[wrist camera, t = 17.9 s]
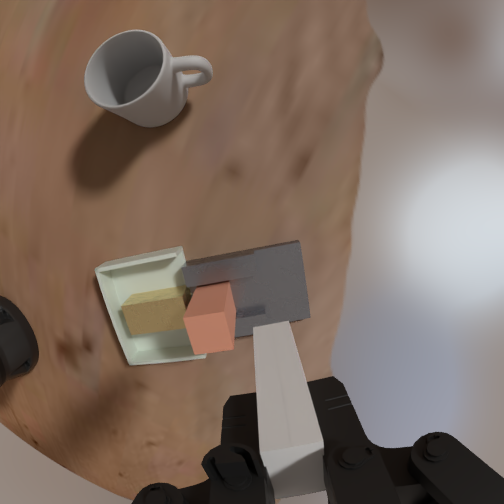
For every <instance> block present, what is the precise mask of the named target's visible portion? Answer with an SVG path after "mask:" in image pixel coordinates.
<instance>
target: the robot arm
mask: <svg viewBox="0 0 504 504" xmlns="http://www.w3.org/2000/svg"><path fill="white" fill-rule="evenodd" d="M253 338H254V357H255V375H256V392H255V393H248V394H241V395H234V396H230V397H229V399H228V400H227V402H226V403H225V405H224V407H223V420H222V432H221V445H219V446H217V447H215V448H213V449H211V450H210V451H209V452H208V453H207V454H206V455H205V456H204V458H203V461H202V463H201V465H202V467H203V468H204V470H205V472H206V474H207V475H208V477H209V479H207V480H206V481H204V482H202V483H199V484H197V485H193V486H189V487H185V488H181V489H177V488H176V487H175V486H173V485H171V484H168V483H155V484H150V485H148V486H146V487H145V488H143V489H142V490H141V491H140V492H139V493H138V494H137V496H136V497H135V499H134V501H133V502H132V504H275V499H280V498H287V497H293V496H299V495H305V494H310V493H315V492H319V491H324V490H326V491H327V496H328V504H504V478H503V477H501V476H500V475H499V474H498V473H497V472H495V471H494V470H493V469H492V468H490V467H489V466H488V465H487V464H486V463H484V462H483V461H482V460H481V459H480V458H478V457H477V456H476V455H475V454H474V453H472V452H471V451H470V450H469V449H468V448H466V447H465V446H464V445H463V444H462V443H460V442H459V441H458V440H457V439H456V438H454V437H453V436H451V435H449V434H447V433H443V432H433V433H428V434H426V435H424V436H422V437H420V438H419V439H418V440H417V441H416V442H415V443H414V445H413V446H411V447H402V448H384V447H379V446H377V445H375V444H373V443H372V442H371V441H370V440H369V439H368V438H367V436H366V435H365V432H364V430H363V428H362V425H361V423H360V421H359V419H358V416H357V414H356V412H355V409H354V407H353V405H352V403H351V401H350V398H349V396H348V394H347V391H346V390H345V387H344V385H343V383H341V382H340V381H338V379H336V378H335V377H334V376H332V377H327V378H323V379H319V380H314V381H310V382H306V378H305V375H304V371H303V368H302V364H301V361H300V358H299V354H298V351H297V347H296V344H295V341H294V337H293V334H292V330H291V327H290V324H289V321H284V322H279V323H274V324H269V325H263V326H258V327H253ZM38 355H39V353H38V345H37V341H36V338H35V335H34V333H33V330H32V328H31V326H30V324H29V323H28V321H27V319H26V318H25V316H24V315H23V314H22V312H21V311H20V310H19V309H18V308H17V307H16V306H15V305H14V304H13V303H12V302H11V301H10V300H8V299H6V298H5V297H2V296H0V387H1V386H2V385H3V384H4V383H5V382H6V381H8V380H10V379H13V378H16V377H18V376H21V375H24V374H26V373H28V372H29V371H30V370H31V369H32V368H33V367H34V366H35V365H36V363H37V361H38Z"/></svg>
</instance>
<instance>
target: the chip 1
mask: <svg viewBox="0 0 504 504" xmlns="http://www.w3.org/2000/svg"><path fill="white" fill-rule="evenodd" d="M157 292H158V290H154V291H148V292H142V293H136V294H132V295H131V296H130V297H129V298H128V299H127V300H126V301H125V302H124V303H123V304H122V305H121V308H122V311H123V314H124V317H125V319H126V322H127V325H128V328H129V330H130V333H131V335H137V334H145V333H154V332H160V330H159V327H158V325H157V322H156V319H155V316H154V313H153V309H152V306H151V303H150V301H151V300H152V298H153V297H154V296H155V294H156V293H157Z"/></svg>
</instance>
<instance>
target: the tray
mask: <svg viewBox="0 0 504 504" xmlns="http://www.w3.org/2000/svg"><path fill="white" fill-rule="evenodd" d="M185 262H186V260H185V256H184V252H183V248H182V246H178V247H174V248H169V249H164V250H159V251H154V252H149V253H144V254H140V255H135V256H130V257H125V258H121V259H116V260H111V261H107V262H105V263H103V264H101V265H100V266H98V267H97V268H95V273H96V276H97V279H98V282H99V285H100V289H101V292H102V295H103V298H104V301H105V304H106V306H107V309H108V312H109V315H110V318H111V320H112V323H113V326H114V328H115V331H116V334H117V336H118V339H119V341H120V344H121V346H122V348H123V351H124V353H125V356H126V358H127V360H128V363H129V365H142V364H155V363H166V362H176V361H185V360H194V359H202V358H206V354H207V353H205V354H197V355H195V354H194V351H193V348H192V345H191V342H190V339H189V336H188V333H187V330H186V328H184V329H176V330H169V331H161V332H154V333H145V334H137V335H131V333H130V330H129V328H128V325H127V322H126V319H125V317H124V314H123V311H122V308H121V305H122V304H123V303H124V302H125V301H126V300H127V299H128V298H129V297H130V296H131V295H132V294H136V293H142V292H148V291H154V290H160V289H165V288H171V287H177V286H183V285H186V283H185V280H184V276H183V272H182V268H181V267H182V266H183V265H184V263H185ZM189 289H190V287H189ZM190 293H191V290H190ZM191 297H192V293H191Z"/></svg>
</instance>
